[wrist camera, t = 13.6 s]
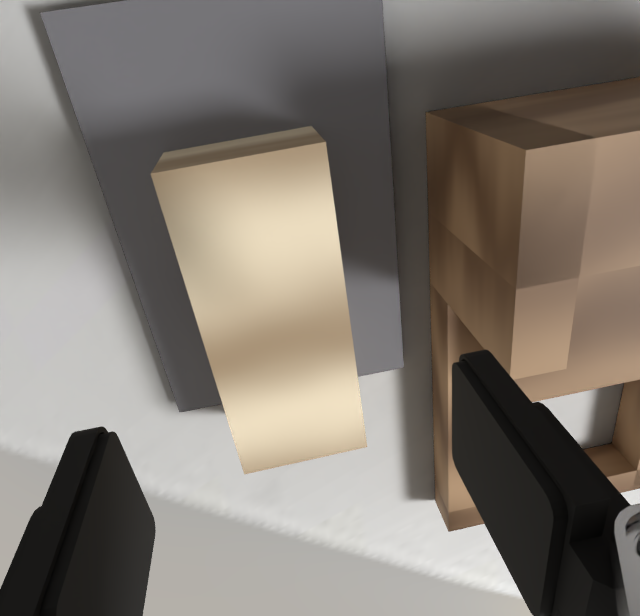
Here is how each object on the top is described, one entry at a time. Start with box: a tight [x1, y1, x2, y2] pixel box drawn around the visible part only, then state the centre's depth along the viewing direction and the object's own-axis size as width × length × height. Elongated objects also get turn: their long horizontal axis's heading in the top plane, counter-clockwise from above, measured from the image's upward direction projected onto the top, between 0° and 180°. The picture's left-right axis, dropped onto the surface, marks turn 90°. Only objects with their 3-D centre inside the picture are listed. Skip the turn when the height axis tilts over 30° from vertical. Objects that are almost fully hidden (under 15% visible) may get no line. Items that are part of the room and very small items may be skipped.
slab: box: [151, 126, 367, 474], centre depth 18 cm, size 12×5×3 cm, turn 8°
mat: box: [40, 0, 404, 412], centre depth 19 cm, size 15×10×1 cm, turn 8°
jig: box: [426, 77, 640, 531], centre depth 20 cm, size 20×12×7 cm, turn 8°
